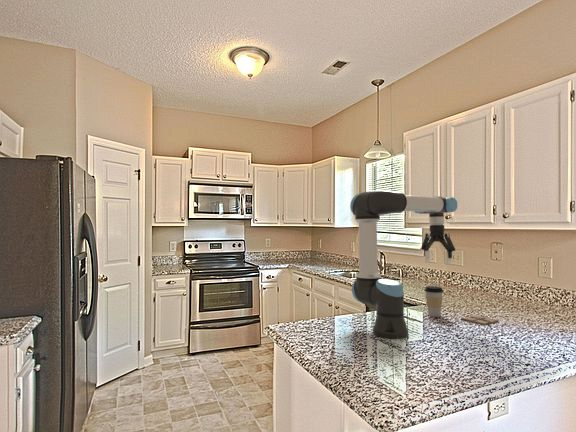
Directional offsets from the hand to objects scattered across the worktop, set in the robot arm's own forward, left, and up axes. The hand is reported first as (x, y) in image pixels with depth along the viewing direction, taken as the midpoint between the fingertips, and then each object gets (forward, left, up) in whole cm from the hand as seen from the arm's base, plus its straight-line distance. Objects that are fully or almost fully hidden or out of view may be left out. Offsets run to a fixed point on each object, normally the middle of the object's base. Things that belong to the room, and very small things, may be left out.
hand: (437, 263), depth 193 cm
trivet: (+6, -19, -28) cm, 34 cm away
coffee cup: (-4, 0, -28) cm, 28 cm away
